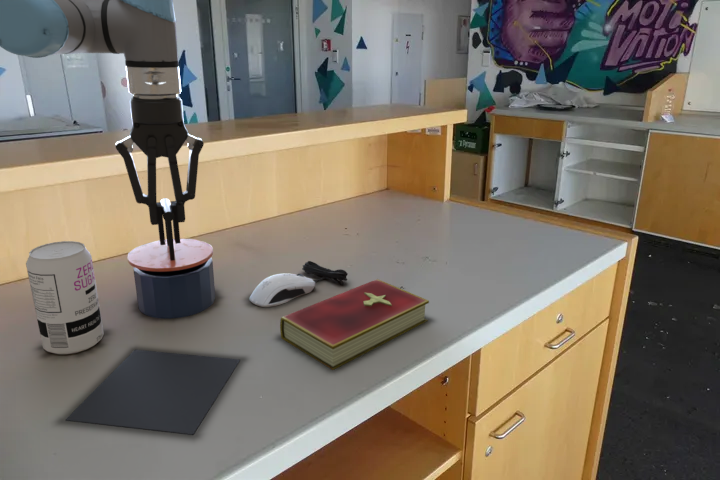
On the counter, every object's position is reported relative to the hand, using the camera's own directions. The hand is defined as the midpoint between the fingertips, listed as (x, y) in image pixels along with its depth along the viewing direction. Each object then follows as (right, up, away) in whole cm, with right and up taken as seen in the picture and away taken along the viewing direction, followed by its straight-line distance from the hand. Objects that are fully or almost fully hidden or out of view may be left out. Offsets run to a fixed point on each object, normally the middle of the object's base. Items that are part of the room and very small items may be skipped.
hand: (169, 241), depth 92 cm
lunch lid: (0, -2, +1) cm, 3 cm away
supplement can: (-11, -15, -9) cm, 21 cm away
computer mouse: (+20, -9, +9) cm, 24 cm away
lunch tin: (0, -11, +4) cm, 11 cm away
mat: (+6, -19, -20) cm, 28 cm away
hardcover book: (+31, -14, -4) cm, 35 cm away
